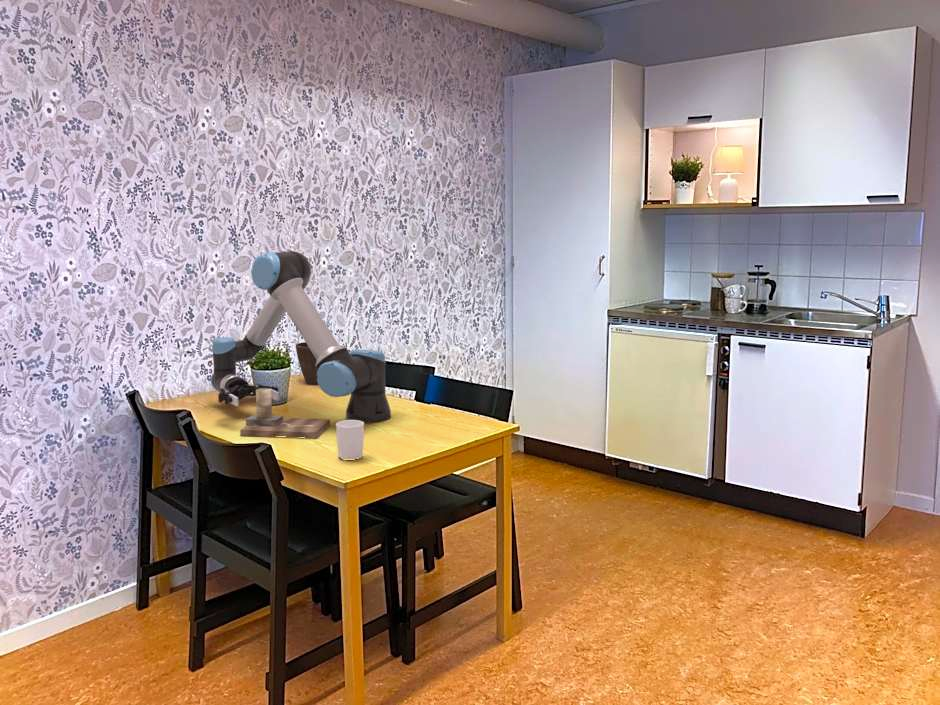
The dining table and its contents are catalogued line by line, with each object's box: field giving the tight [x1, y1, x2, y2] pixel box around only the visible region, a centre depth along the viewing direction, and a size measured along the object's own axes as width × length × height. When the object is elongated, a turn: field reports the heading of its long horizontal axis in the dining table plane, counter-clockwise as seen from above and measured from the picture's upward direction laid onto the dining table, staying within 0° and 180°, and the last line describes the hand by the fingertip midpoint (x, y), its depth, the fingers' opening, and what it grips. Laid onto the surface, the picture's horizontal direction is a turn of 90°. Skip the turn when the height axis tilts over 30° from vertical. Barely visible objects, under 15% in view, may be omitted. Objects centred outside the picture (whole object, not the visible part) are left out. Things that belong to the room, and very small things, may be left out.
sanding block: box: [245, 388, 284, 427], centre depth 255 cm, size 10×6×11 cm, turn 84°
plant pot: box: [295, 341, 319, 386], centre depth 325 cm, size 15×15×16 cm
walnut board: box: [239, 417, 331, 439], centre depth 255 cm, size 24×16×2 cm, turn 84°
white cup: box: [335, 419, 365, 459], centre depth 227 cm, size 8×8×10 cm
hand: (257, 399), depth 258 cm, fingers open, 13 cm apart
